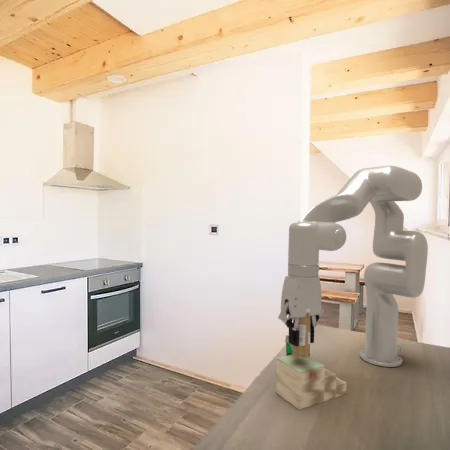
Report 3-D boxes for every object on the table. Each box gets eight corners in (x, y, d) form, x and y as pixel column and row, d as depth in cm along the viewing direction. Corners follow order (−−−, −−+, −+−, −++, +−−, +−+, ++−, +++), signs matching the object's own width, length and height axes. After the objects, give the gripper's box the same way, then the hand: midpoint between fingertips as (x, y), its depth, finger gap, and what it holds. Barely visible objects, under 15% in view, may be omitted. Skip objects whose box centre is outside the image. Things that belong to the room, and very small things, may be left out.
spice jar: (314, 356, 85) (315, 303, 85) (301, 360, 83) (302, 306, 83) (300, 350, 89) (301, 299, 89) (288, 354, 87) (289, 301, 86)
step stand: (320, 379, 96) (321, 347, 96) (347, 394, 88) (348, 360, 88) (275, 392, 88) (276, 358, 88) (300, 410, 80) (301, 373, 80)
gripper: (316, 267, 93) (315, 333, 93) (267, 271, 85) (265, 343, 85) (338, 271, 86) (336, 342, 87) (286, 275, 78) (284, 354, 79)
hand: (301, 342), depth 86 cm, fingers closed on spice jar, 4 cm apart
